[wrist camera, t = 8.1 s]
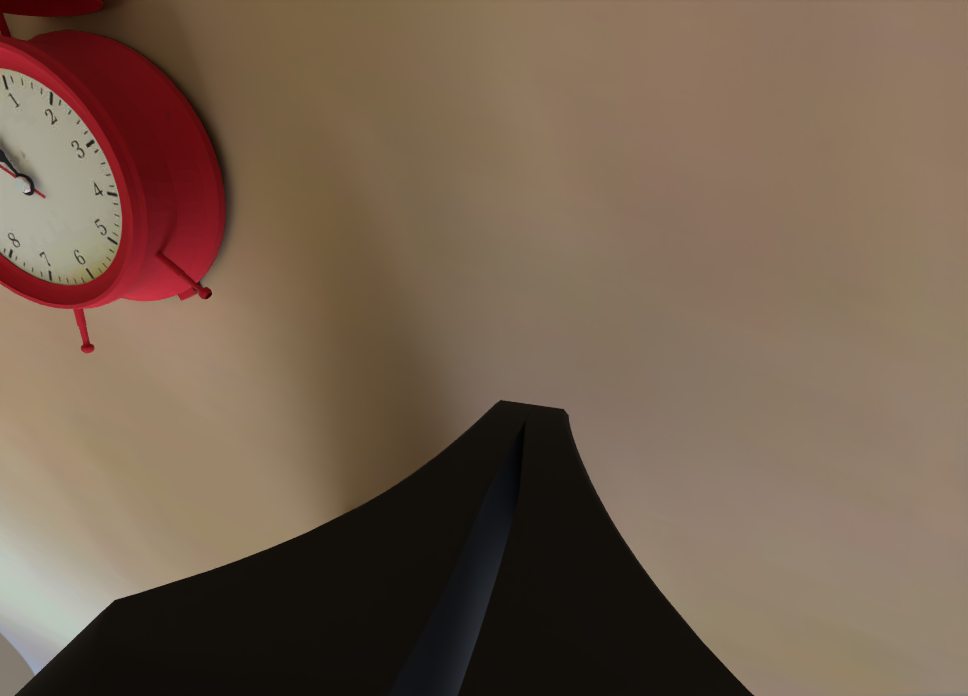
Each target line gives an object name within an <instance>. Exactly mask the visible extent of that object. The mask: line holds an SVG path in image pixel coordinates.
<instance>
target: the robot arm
mask: <svg viewBox="0 0 968 696" xmlns="http://www.w3.org/2000/svg"><path fill="white" fill-rule="evenodd" d="M15 696H754V695H753V694H752V693H751V692H749V691H748V690H747V689H746V687H745V686H744V685H743V684H742V683H741V682H740V681H739V680H738V679H737V678H736V677H735V676H734V675H733V674H732V673H731V672H730V671H729V670H728V669H727V668H726V666H725V665H724V664H723V663H722V662H721V661H720V660H719V659H718V658H717V657H716V656H715V655H714V654H713V653H712V651H711V650H710V649H709V648H708V647H707V646H706V645H705V644H704V643H703V642H702V641H701V639H700V638H699V637H698V636H697V635H696V633H695V632H694V631H693V630H692V629H691V627H690V626H689V625H688V624H687V623H686V621H685V620H684V619H683V618H682V617H681V615H680V614H679V613H678V612H677V611H676V609H675V608H674V607H673V606H672V605H671V603H670V602H669V601H668V600H667V599H666V597H665V596H664V595H663V594H662V592H661V591H660V590H659V589H658V587H657V586H656V585H655V583H654V582H653V581H652V579H651V578H650V577H649V575H648V574H647V572H646V571H645V570H644V568H643V567H642V566H641V564H640V563H639V561H638V560H637V559H636V557H635V556H634V554H633V553H632V551H631V550H630V548H629V547H628V545H627V544H626V542H625V541H624V539H623V538H622V536H621V535H620V533H619V531H618V530H617V528H616V526H615V525H614V523H613V521H612V520H611V518H610V516H609V515H608V513H607V511H606V509H605V507H604V505H603V504H602V502H601V500H600V498H599V496H598V494H597V492H596V490H595V488H594V486H593V484H592V482H591V480H590V478H589V476H588V473H587V471H586V469H585V467H584V464H583V462H582V460H581V458H580V455H579V452H578V450H577V447H576V444H575V441H574V438H573V435H572V432H571V428H570V423H569V415H568V414H567V413H566V412H565V410H564V409H559V408H552V407H545V406H538V405H531V404H524V403H517V402H510V401H503V400H500V401H499V402H498V403H496V404H495V405H494V406H493V407H492V408H491V409H490V410H488V411H487V412H486V413H485V414H484V415H483V416H482V417H481V418H480V419H479V420H478V421H477V422H476V423H475V424H474V425H473V426H471V427H470V428H469V429H468V430H467V431H466V432H465V433H464V434H462V435H461V436H460V437H459V438H458V439H456V440H455V441H454V442H453V443H452V444H451V445H449V446H448V447H447V448H446V449H445V450H443V451H442V452H441V453H440V454H438V455H437V456H436V457H434V458H433V459H432V460H430V461H429V462H428V463H426V464H425V465H424V466H422V467H421V468H420V469H418V470H417V471H415V472H414V473H413V474H411V475H410V476H409V477H407V478H406V479H404V480H403V481H401V482H400V483H398V484H397V485H395V486H394V487H392V488H390V489H389V490H387V491H386V492H384V493H382V494H380V495H379V496H377V497H375V498H374V499H372V500H370V501H369V502H367V503H365V504H363V505H361V506H359V507H358V508H356V509H354V510H352V511H350V512H347V513H345V514H343V515H341V516H339V517H337V518H335V519H333V520H331V521H329V522H327V523H325V524H323V525H321V526H319V527H317V528H315V529H313V530H311V531H309V532H307V533H305V534H302V535H300V536H298V537H295V538H293V539H291V540H288V541H286V542H284V543H281V544H279V545H276V546H274V547H272V548H269V549H267V550H264V551H261V552H259V553H256V554H254V555H251V556H248V557H246V558H243V559H241V560H238V561H235V562H233V563H230V564H227V565H224V566H221V567H219V568H216V569H213V570H210V571H207V572H204V573H201V574H197V575H194V576H191V577H188V578H185V579H182V580H179V581H175V582H172V583H169V584H166V585H163V586H160V587H157V588H154V589H150V590H147V591H144V592H141V593H138V594H134V595H131V596H127V597H124V598H121V599H117V600H115V601H113V602H112V603H111V604H110V605H109V606H108V607H107V608H106V609H105V610H103V611H102V612H101V613H100V614H99V615H98V616H97V617H96V618H95V619H94V620H93V621H92V622H91V623H90V624H89V625H88V626H87V627H86V628H85V629H84V630H82V631H81V632H80V633H79V634H78V635H77V636H76V637H75V638H74V639H73V640H72V641H71V642H70V643H69V644H68V645H67V646H66V647H65V648H64V649H63V650H62V651H61V652H60V653H59V654H57V655H56V656H55V657H54V658H53V659H52V660H51V661H50V662H49V663H48V664H47V665H46V666H45V667H44V668H43V669H42V670H41V671H40V672H39V673H38V674H37V675H36V676H35V677H34V678H33V679H32V680H30V681H29V682H28V683H27V684H26V685H25V686H24V687H23V688H22V689H21V690H20V691H19V692H18V693H17V694H16V695H15Z"/></svg>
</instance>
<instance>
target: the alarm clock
mask: <svg viewBox="0 0 968 696" xmlns="http://www.w3.org/2000/svg"><path fill="white" fill-rule="evenodd" d="M102 7H103V1H102V0H0V31H1V34H2V36H1V35H0V284H1V285H3V286H4V287H6V288H8V289H9V290H11V291H12V292H14V293H16V294H18V295H20V296H22V297H24V298H26V299H28V300H31V301H33V302H36V303H38V304H41V305H46V306H50V307H54V308H63V309H74V313H75V317H76V321H77V325H78V326H79V329H80V333H81V336H82V340H83V346H81V350H82V351H83V352H84V353H91V352H93V351H94V349H95V348H94V345H92V344H90V342H89V337H88V333H87V328H86V321H85V316H84V312H83V309H86V308H93V307H99V306H102V305H105V304H108V303H110V302H113V301H115V300H117V299H120V298H124V299H129V300H136V301H154V300H161V299H165V298H168V297H171V296H174V295H177V294H178V296H179V298H180V299H181V300H184V299H187V298H189V297H191V296H193V295H195V294H197V293H196V292H195V291H194V289H196V290H197V291H198V293H199V296H200V297H201V298H202V299H208V298H209V297H210V296H211V295H212V292H211V290H210V289H209V288H207V287H206V288H202V287H201V286H200V285H199V284H198V283H197V282H198V281H199V280H200V279H202V278H203V277H204V275H205V274H206V273H207V272H208V270H209V269H210V267H211V266H212V264H213V262H214V260H215V258H216V256H217V254H218V251H219V248H220V245H221V242H222V238H223V233H224V227H225V211H226V208H225V195H224V187H223V181H222V175H221V171H220V168H219V164H218V161H217V158H216V155H215V152H214V149H213V147H212V144H211V142H210V140H209V137H208V135H207V133H206V131H205V129H204V127H203V125H202V123H201V121H200V119H199V118H198V116H197V115H196V113H195V111H194V110H193V108H192V107H191V105H190V104H189V102H188V101H187V99H186V98H185V97H184V96H183V94H182V93H181V92H180V91H179V90H178V88H177V87H176V86H175V85H174V84H173V83H172V81H171V80H170V79H169V78H168V77H167V76H166V75H165V74H164V73H163V72H162V71H161V70H159V69H158V68H157V67H156V66H155V65H154V64H152V63H151V62H150V61H149V60H148V59H146V58H145V57H144V56H142V55H141V54H139V53H138V52H136V51H134V50H133V49H131V48H129V47H127V46H125V45H123V44H121V43H119V42H117V41H115V40H112V39H109V38H106V37H104V36H100V35H96V34H91V33H86V32H81V31H71V30H65V31H54V32H49V33H45V34H40V35H37V36H35V37H34V38H32V39H31V40H28V41H23V40H19V39H15V38H12V37H11V35H10V32H9V29H8V26H7V24H6V21H5V18H4V15H3V13H8V14H15V15H26V16H41V17H57V16H75V15H83V14H90V13H93V12H96V11H98V10H101V9H102ZM192 287H193V288H194V289H193V288H192Z"/></svg>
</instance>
